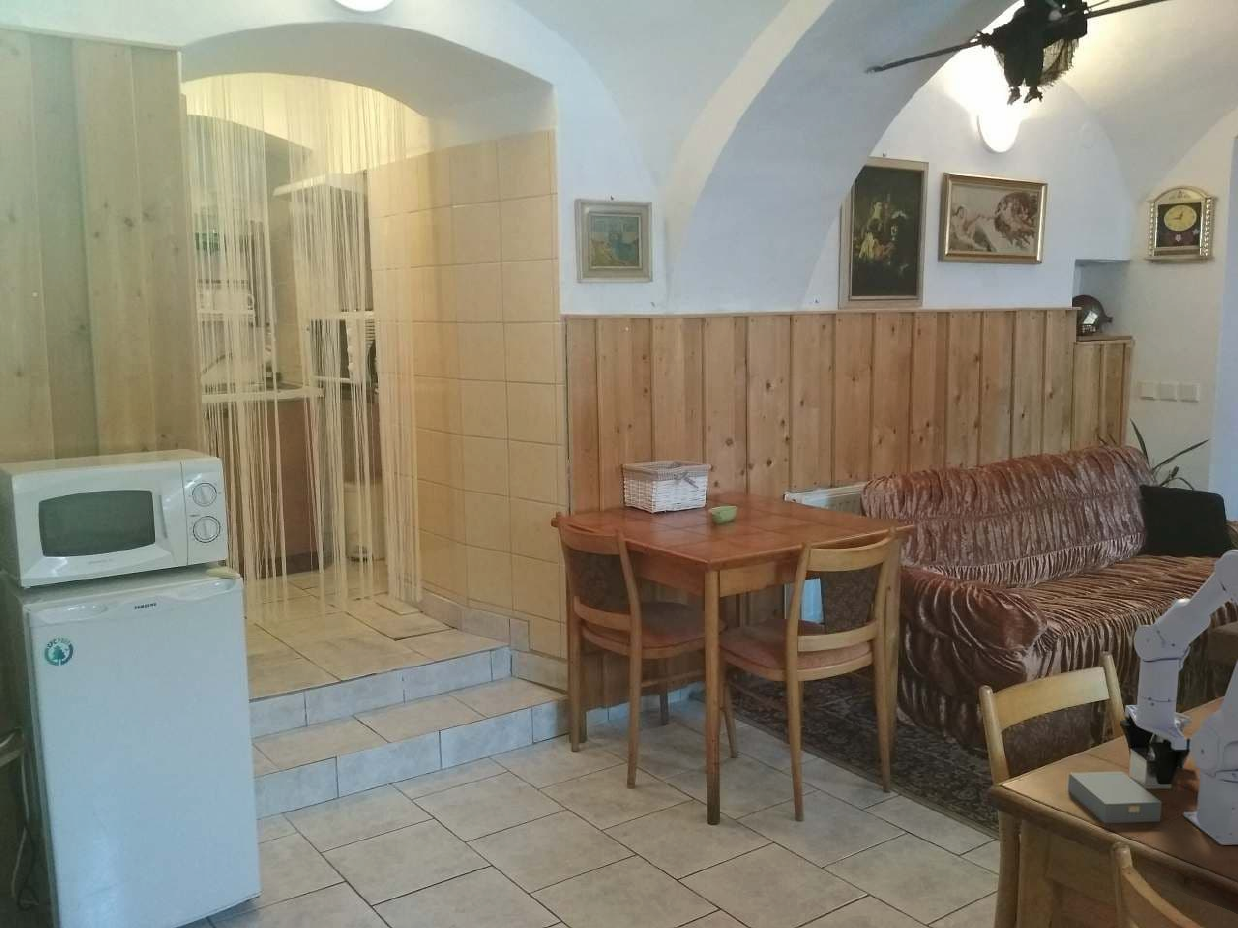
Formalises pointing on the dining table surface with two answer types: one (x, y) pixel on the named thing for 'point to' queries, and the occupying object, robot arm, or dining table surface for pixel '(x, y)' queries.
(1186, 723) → the watch
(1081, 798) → the watch box
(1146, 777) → the tea tin
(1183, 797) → the dining table surface
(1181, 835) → the dining table surface
